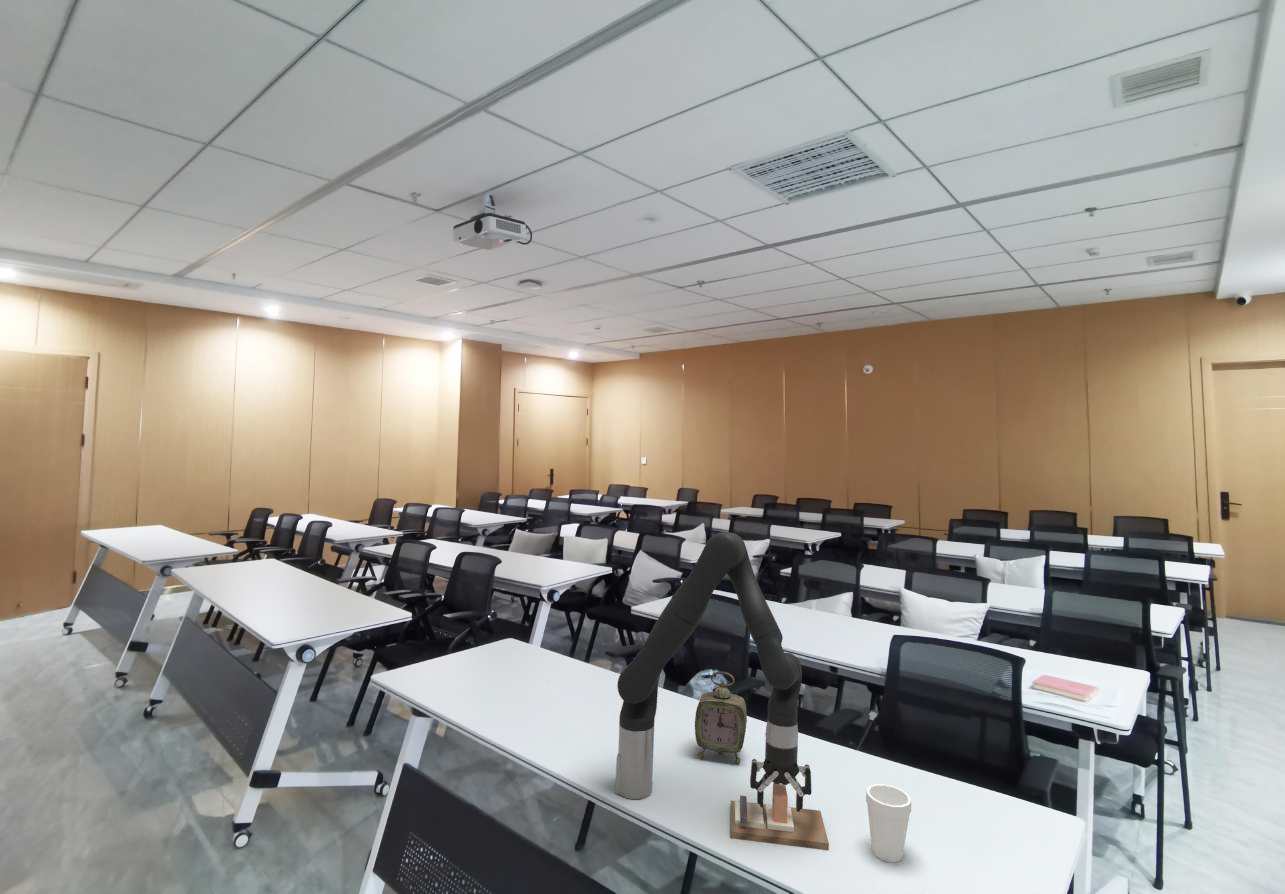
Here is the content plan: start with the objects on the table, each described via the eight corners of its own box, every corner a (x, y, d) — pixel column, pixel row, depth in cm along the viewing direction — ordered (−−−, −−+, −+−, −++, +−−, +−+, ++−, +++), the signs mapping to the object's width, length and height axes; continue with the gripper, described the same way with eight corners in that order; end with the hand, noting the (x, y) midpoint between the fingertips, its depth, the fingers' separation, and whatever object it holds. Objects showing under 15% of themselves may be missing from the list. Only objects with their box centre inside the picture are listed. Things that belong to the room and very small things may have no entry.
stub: (767, 828, 142) (768, 797, 142) (765, 809, 150) (766, 780, 150) (793, 831, 142) (794, 800, 142) (790, 812, 149) (791, 782, 150)
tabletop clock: (693, 759, 177) (696, 673, 177) (698, 745, 186) (700, 663, 186) (743, 767, 174) (746, 679, 174) (746, 752, 182) (748, 669, 183)
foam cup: (898, 840, 142) (899, 784, 143) (917, 866, 133) (919, 807, 133) (858, 839, 142) (859, 783, 142) (874, 866, 133) (876, 806, 133)
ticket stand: (730, 837, 141) (731, 821, 141) (730, 806, 154) (731, 791, 154) (828, 849, 138) (829, 832, 138) (820, 816, 151) (820, 801, 151)
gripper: (752, 743, 144) (750, 813, 143) (814, 749, 141) (812, 820, 141) (751, 729, 151) (749, 795, 151) (810, 735, 149) (808, 802, 149)
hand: (779, 807), depth 146 cm, fingers open, 8 cm apart
